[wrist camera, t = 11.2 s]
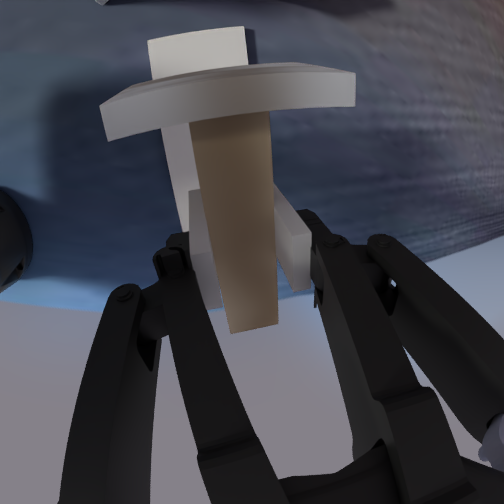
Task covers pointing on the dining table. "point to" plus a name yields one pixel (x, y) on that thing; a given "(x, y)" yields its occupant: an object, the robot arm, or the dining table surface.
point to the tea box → (101, 1)
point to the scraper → (233, 160)
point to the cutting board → (185, 61)
